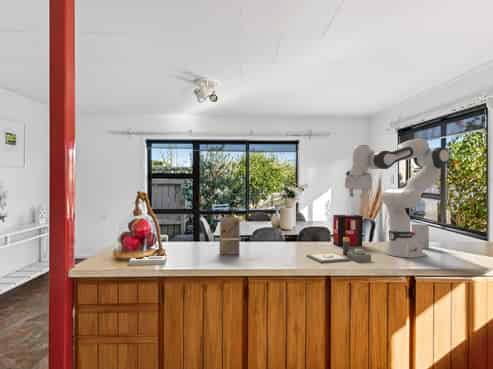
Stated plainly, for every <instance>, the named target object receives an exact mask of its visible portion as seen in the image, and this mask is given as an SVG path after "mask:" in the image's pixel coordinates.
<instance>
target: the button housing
mask: <svg viewBox="0 0 493 369" xmlns="http://www.w3.org/2000/svg"><path fill="white" fill-rule="evenodd" d="M346 258H349V259H350V261H353V262H356V263H361V262H363V263H364V262H371V261H372V254H370V253H367V252H364V251H363V254H362V255H356V254H354V251H349V252H347V256H346Z"/></svg>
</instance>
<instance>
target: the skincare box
mask: <svg viewBox="0 0 493 369" xmlns="http://www.w3.org/2000/svg"><path fill="white" fill-rule="evenodd" d="M411 232H416V235H412V236H413V238H414V239H415V240H416V241H417V242H419V243H420V244H421V246H422V250H423V249H424V250H425V249H429V248H430V232H429V223H423V222H420V223H419V222H415V223H411Z"/></svg>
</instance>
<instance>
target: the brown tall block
mask: <svg viewBox="0 0 493 369" xmlns="http://www.w3.org/2000/svg"><path fill="white" fill-rule="evenodd" d="M234 213H235V212H234V211H233V212H232V217H219V218H220V219H219V222H220V223H219V255H220V256H223V255H238V256H240V255H241V253H240V251H241V250H240V236H241V233H240V231H241V230H240V229H241V228H240V226H241V224H240V222H241V220H240V219H241V218H240V217H235V214H234Z"/></svg>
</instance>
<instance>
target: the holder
mask: <svg viewBox="0 0 493 369" xmlns="http://www.w3.org/2000/svg"><path fill="white" fill-rule="evenodd" d="M128 260H129V262H128V263H129V264H128V265H129V266H136V265H138V266H140V265H141V266H142V265H143V266H144V265H145V264H146V265H166V264H165V263H167V261H168V256H167V255H164V256H149V257H144V258H142V259H136V258H132V257H131V258H130V259H128Z"/></svg>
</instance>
